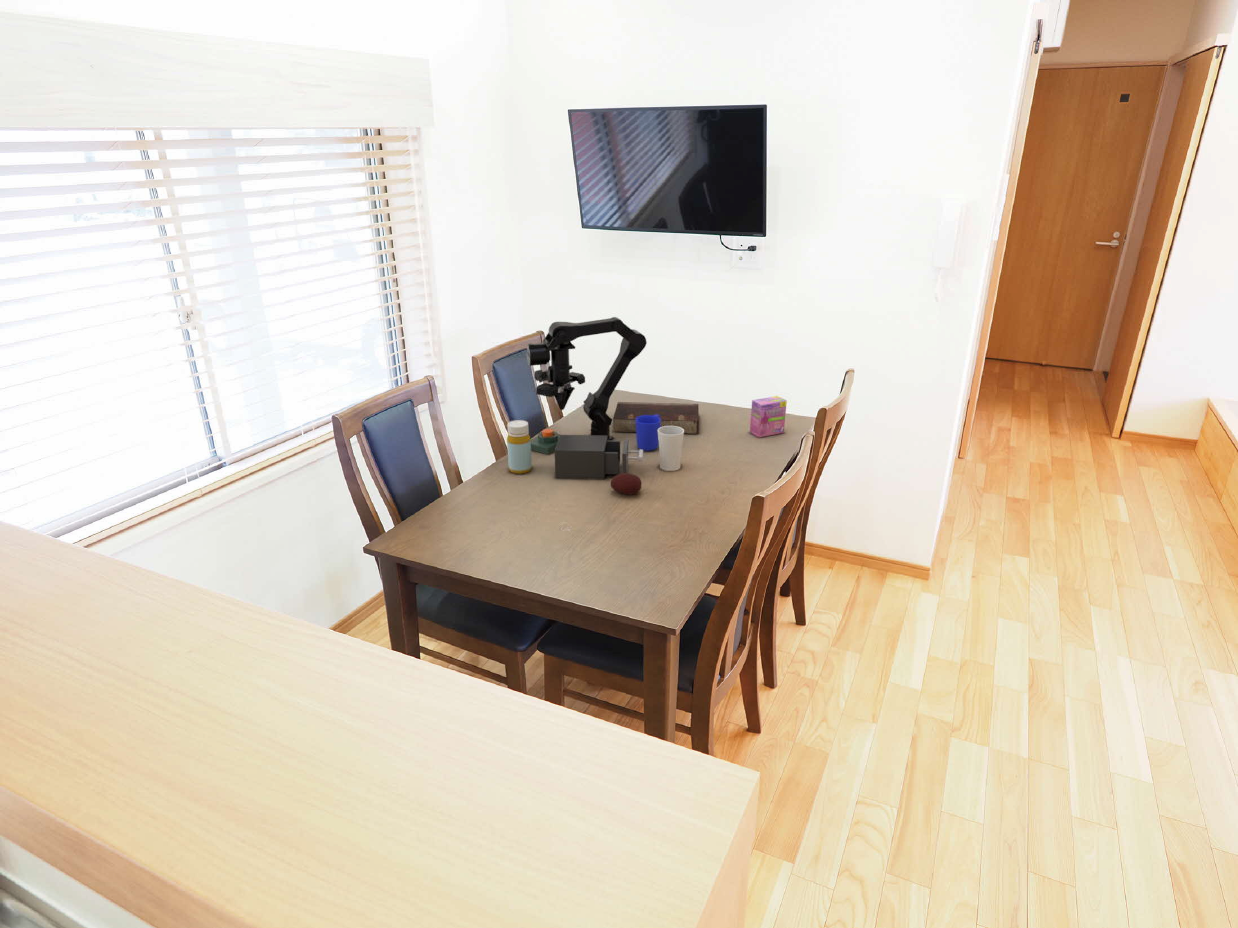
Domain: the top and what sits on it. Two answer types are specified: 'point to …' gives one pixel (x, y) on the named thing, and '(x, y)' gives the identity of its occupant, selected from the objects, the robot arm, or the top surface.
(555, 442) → the control block
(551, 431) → the button
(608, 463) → the drawer
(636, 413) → the book
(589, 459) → the dark grey lidded case
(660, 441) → the cup
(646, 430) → the mug
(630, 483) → the potato
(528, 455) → the bottle
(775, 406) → the box
